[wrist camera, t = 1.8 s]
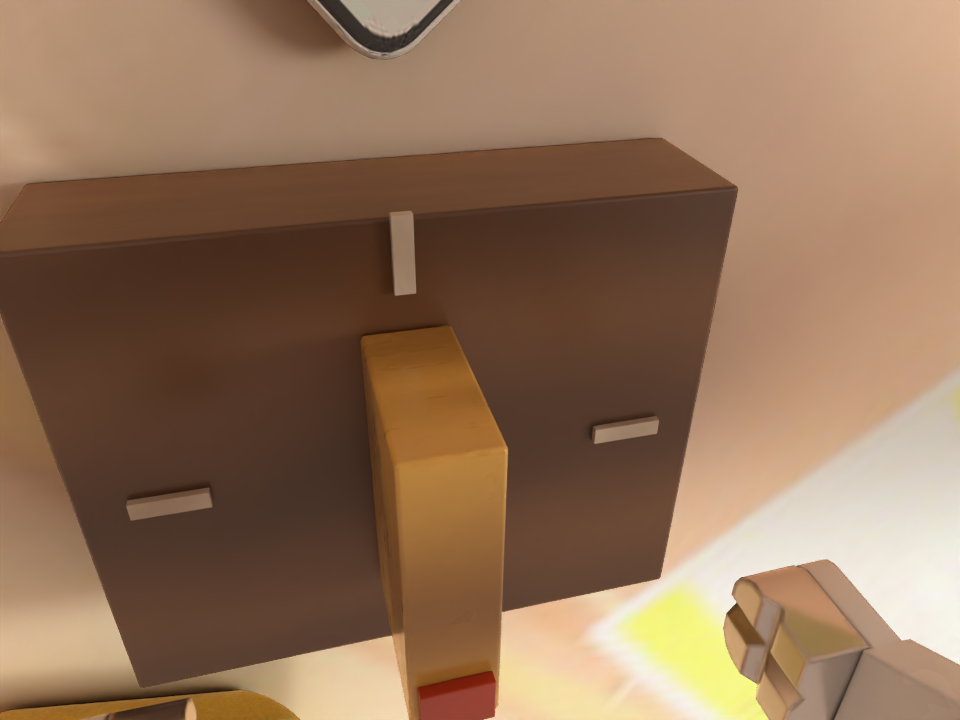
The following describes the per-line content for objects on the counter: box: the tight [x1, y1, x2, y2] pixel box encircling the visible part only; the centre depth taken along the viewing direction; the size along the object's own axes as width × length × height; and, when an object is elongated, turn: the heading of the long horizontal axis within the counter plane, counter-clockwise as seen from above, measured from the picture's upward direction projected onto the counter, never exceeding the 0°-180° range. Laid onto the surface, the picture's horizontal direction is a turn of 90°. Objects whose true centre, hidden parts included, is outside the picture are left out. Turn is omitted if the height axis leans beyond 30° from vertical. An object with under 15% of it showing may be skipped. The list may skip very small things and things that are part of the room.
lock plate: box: [0, 138, 738, 688], centre depth 16 cm, size 10×12×3 cm
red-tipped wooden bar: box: [360, 326, 508, 720], centre depth 13 cm, size 6×2×4 cm, turn 179°
